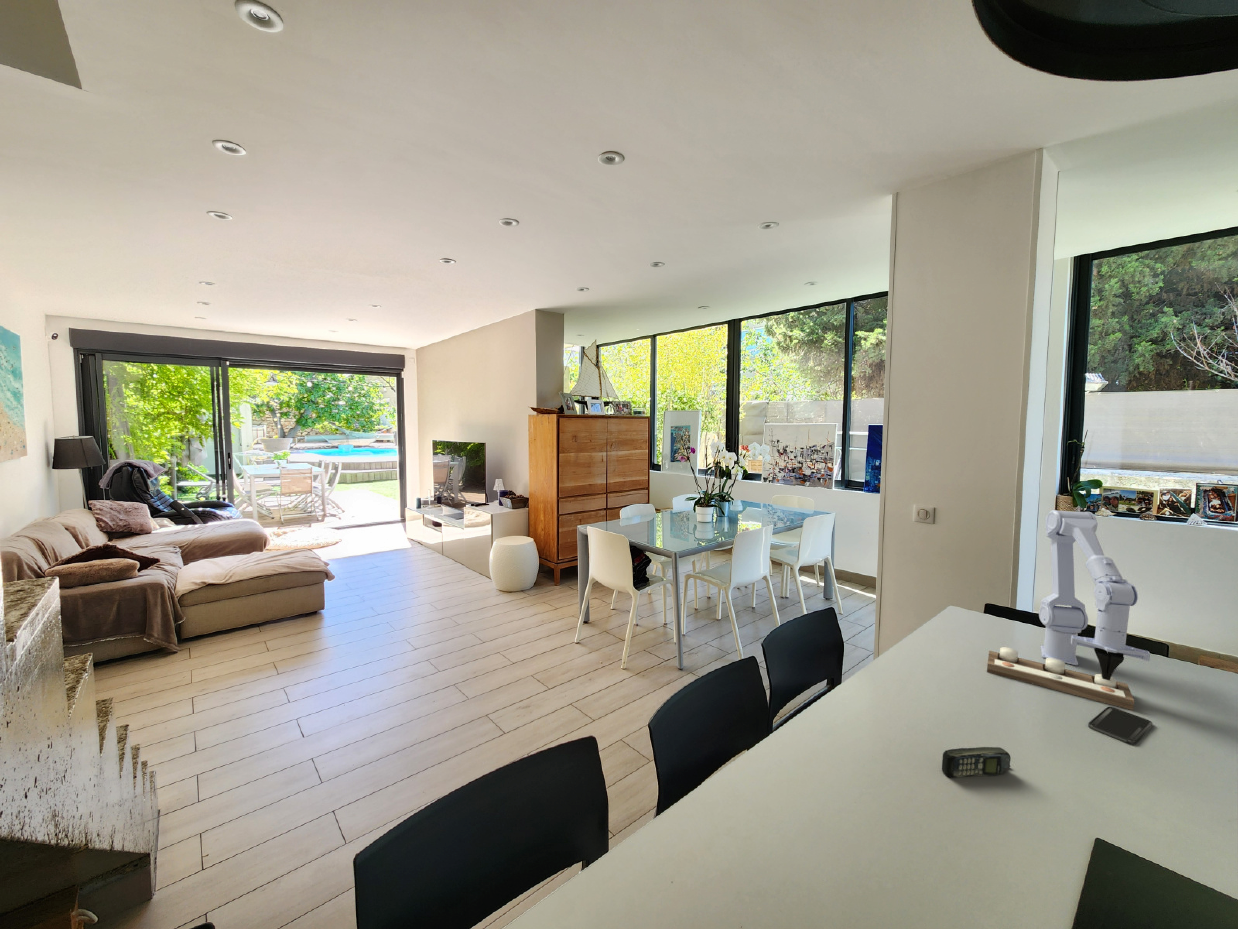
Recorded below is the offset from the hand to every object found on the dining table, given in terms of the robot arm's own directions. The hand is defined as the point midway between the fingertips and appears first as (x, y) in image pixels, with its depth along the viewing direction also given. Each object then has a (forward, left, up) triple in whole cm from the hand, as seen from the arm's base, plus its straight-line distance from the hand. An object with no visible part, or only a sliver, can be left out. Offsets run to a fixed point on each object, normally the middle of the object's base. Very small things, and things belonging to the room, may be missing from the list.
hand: (1105, 678), depth 131 cm
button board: (+2, -10, -4) cm, 11 cm away
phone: (+18, +1, -4) cm, 19 cm away
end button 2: (0, -20, -1) cm, 20 cm away
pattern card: (+5, -10, -1) cm, 11 cm away
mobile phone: (+58, -24, -4) cm, 63 cm away
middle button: (0, -10, -1) cm, 10 cm away
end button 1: (0, 0, -2) cm, 2 cm away
